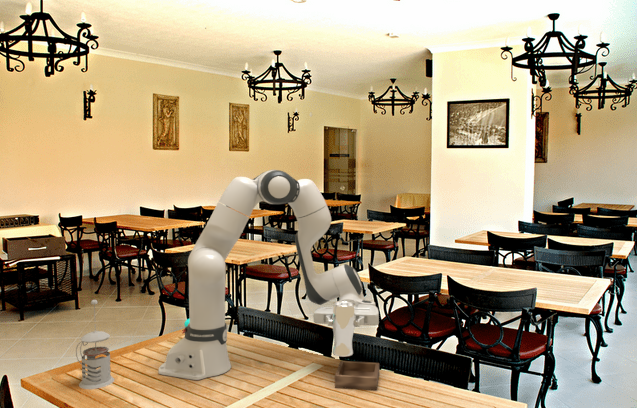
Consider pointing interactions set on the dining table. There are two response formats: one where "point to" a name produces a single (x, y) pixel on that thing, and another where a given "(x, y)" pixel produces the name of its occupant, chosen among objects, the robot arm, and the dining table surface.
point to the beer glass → (343, 327)
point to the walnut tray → (357, 375)
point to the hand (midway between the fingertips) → (343, 323)
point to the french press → (95, 360)
